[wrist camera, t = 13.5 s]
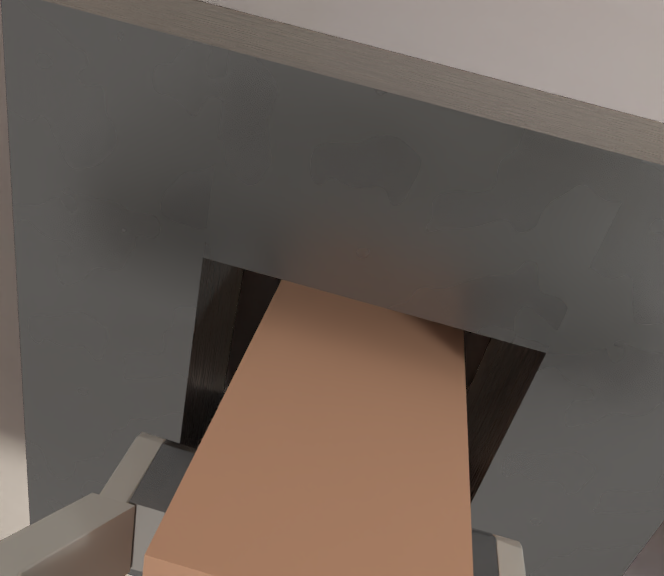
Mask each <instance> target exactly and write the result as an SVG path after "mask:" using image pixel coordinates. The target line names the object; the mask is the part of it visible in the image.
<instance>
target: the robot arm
mask: <svg viewBox="0 0 664 576" xmlns="http://www.w3.org/2000/svg"><path fill="white" fill-rule="evenodd" d="M196 451H197V449H196V448H193V447H190V446H187V445H183V444H180V443H177V442H174V441H171V440H168V439H164V438H160V437H157V436H154V435H151V434H148V433H144V432H142V433H141V434H139V435H138V436H137V437H136V438H135V440H134V441H133V443H132V444H131V446H130V448H129V449H128V451H127V452H126V454H125V455H124V457H123V458H122V460H121V462H120V463H119V465H118V466H117V468H116V469H115V471H114V473H113V474H112V476H111V477H110V479H109V480H108V482H107V483H106V485H105V487H104V488H103V490H102V491H101V493H100V494H95V493H90V494H89V495H87V496H85V497H83V498H81V499H79V500H77V501H75V502H73V503H71V504H69V505H67V506H66V507H64V508H62V509H60V510H58V511H56V512H54V513H52V514H50V515H48V516H46V517H45V518H43V519H41V520H39V521H37V522H35V523H33V524H31V525H29V526H27V527H25V528H24V529H22V530H20V531H18V532H16V533H14V534H12V535H10V536H8V537H6V538H4V539H3V540H1V541H0V576H125V575H126V574H128V573H129V572H130V569H133V570H137V571H141V572H143V565H144V555H145V553H146V551H147V549H148V547H149V545H150V543H151V541H152V539H153V537H154V535H155V533H156V531H157V529H158V527H159V525H160V523H161V521H162V519H163V517H164V515H165V513H166V511H167V509H168V507H169V505H170V503H171V501H172V499H173V497H174V495H175V493H176V491H177V489H178V487H179V485H180V483H181V481H182V479H183V477H184V475H185V473H186V471H187V469H188V467H189V465H190V463H191V461H192V459H193V457H194V455H195V453H196ZM471 529H472V554H473V576H526V573H525V565H524V557H523V550H522V546H521V544H520V542H519V541H515V540H512V539H508V538H505V537H502V536H498V535H495V534H493V535H492V534H491V533H489V532H485V531H481V530H478V529H474V528H471Z"/></svg>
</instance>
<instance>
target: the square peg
mask: <svg viewBox="0 0 664 576" xmlns="http://www.w3.org/2000/svg"><path fill="white" fill-rule="evenodd" d="M143 576H473V554H472V529H471V504H470V479H469V454H468V429H467V404H466V378H465V353H464V330H462V329H458V328H455V327H451V326H447V325H444V324H440V323H437V322H433V321H429V320H426V319H422V318H419V317H415V316H411V315H408V314H404V313H401V312H397V311H393V310H390V309H386V308H383V307H379V306H375V305H372V304H368V303H365V302H361V301H357V300H354V299H350V298H347V297H343V296H339V295H336V294H332V293H329V292H325V291H321V290H318V289H314V288H311V287H307V286H303V285H300V284H296V283H293V282H289V281H285V280H281V282H280V284H279V286H278V288H277V290H276V292H275V294H274V296H273V298H272V300H271V302H270V304H269V306H268V308H267V310H266V312H265V314H264V316H263V318H262V320H261V322H260V324H259V326H258V328H257V330H256V332H255V334H254V336H253V338H252V340H251V342H250V344H249V346H248V348H247V350H246V352H245V354H244V356H243V358H242V360H241V362H240V364H239V366H238V368H237V370H236V372H235V374H234V376H233V378H232V380H231V382H230V384H229V386H228V388H227V390H226V392H225V394H224V396H223V398H222V400H221V402H220V404H219V406H218V408H217V410H216V413H215V415H214V417H213V419H212V421H211V423H210V425H209V427H208V429H207V431H206V433H205V435H204V437H203V439H202V441H201V443H200V445H199V447H198V449H197V451H196V453H195V455H194V457H193V459H192V461H191V463H190V465H189V467H188V469H187V471H186V473H185V475H184V477H183V479H182V481H181V483H180V485H179V487H178V489H177V491H176V493H175V495H174V497H173V499H172V501H171V503H170V505H169V507H168V509H167V511H166V513H165V515H164V517H163V519H162V521H161V523H160V525H159V527H158V529H157V531H156V533H155V535H154V537H153V539H152V541H151V543H150V545H149V547H148V549H147V551H146V553H145V555H144V565H143Z"/></svg>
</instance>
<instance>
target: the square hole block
mask: <svg viewBox="0 0 664 576" xmlns="http://www.w3.org/2000/svg"><path fill="white" fill-rule="evenodd" d="M1 7H2V25H3V43H4V61H5V79H6V97H7V115H8V133H9V151H10V169H11V187H12V206H13V224H14V242H15V260H16V278H17V296H18V314H19V332H20V350H21V368H22V387H23V405H24V423H25V441H26V459H27V477H28V495H29V513H30V525H31V524H33V523H35V522H37V521H39V520H41V519H43V518H45V517H46V516H48V515H50V514H52V513H54V512H56V511H58V510H60V509H62V508H64V507H66V506H67V505H69V504H71V503H73V502H75V501H77V500H79V499H81V498H83V497H85V496H87V495H89V494H90V493H95V494H100V493H101V491H102V490H103V488H104V487H105V485H106V483H107V482H108V480H109V479H110V477H111V476H112V474H113V473H114V471H115V469H116V468H117V466H118V465H119V463H120V462H121V460H122V458H123V457H124V455H125V454H126V452H127V451H128V449H129V448H130V446H131V444H132V443H133V441H134V440H135V438H136V437H137V436H138V435H139V434H141V433H142V432H144V433H148V434H151V435H154V436H157V437H160V438H164V439H168V440H171V441H174V442H177V443H180V444H183V445H187V446H190V447H193V448H196V449H198V447H199V445H200V443H201V441H202V439H203V437H204V435H205V433H206V431H207V429H208V427H209V425H210V423H211V421H212V419H213V417H214V415H215V413H216V410H217V408H218V406H219V404H220V402H221V400H222V398H223V396H224V394H223V390H224V384H225V378H226V372H227V366H228V360H229V354H230V348H231V342H232V336H233V330H234V324H235V318H236V312H237V306H238V300H239V294H240V288H241V282H242V276H243V270H244V269H246V270H249V271H253V272H257V273H260V274H264V275H267V276H271V277H275V278H278V279H282V280H285V281H289V282H293V283H296V284H300V285H303V286H307V287H311V288H314V289H318V290H321V291H325V292H329V293H332V294H336V295H339V296H343V297H347V298H350V299H354V300H357V301H361V302H365V303H368V304H372V305H375V306H379V307H383V308H386V309H390V310H393V311H397V312H401V313H404V314H408V315H411V316H415V317H419V318H422V319H426V320H429V321H433V322H437V323H440V324H444V325H447V326H451V327H455V328H458V329H462V330H465V331H469V332H473V333H476V334H480V335H483V336H487V337H491V340H490V342H489V344H488V346H487V349H486V351H485V353H484V356H483V358H482V360H481V363H480V365H479V367H478V369H477V372H476V374H475V376H474V379H473V381H472V383H471V385H470V388H469V390H468V392H467V395H466V404H467V429H468V454H469V479H470V504H471V528H474V529H478V530H481V531H485V532H489V533H491V534H492V535H493V534H495V535H498V536H502V537H505V538H508V539H512V540H515V541H519V542H520V544H521V546H522V550H523V557H524V565H525V573H526V576H622V575H623V574H624V572H625V571H626V570H627V569H628V567H629V566H630V565H631V563H632V562H633V561H634V559H635V558H636V557H637V555H638V554H639V553H640V551H641V550H642V549H643V547H644V546H645V545H646V544H647V542H648V541H649V540H650V538H651V537H652V536H653V534H654V533H655V532H656V530H657V529H658V528H659V526H660V525H661V524H662V522H663V521H664V123H661V122H657V121H654V120H650V119H646V118H642V117H638V116H635V115H631V114H627V113H623V112H620V111H616V110H612V109H608V108H604V107H601V106H597V105H593V104H589V103H585V102H582V101H578V100H574V99H570V98H566V97H563V96H559V95H555V94H551V93H547V92H544V91H540V90H536V89H532V88H528V87H525V86H521V85H517V84H513V83H509V82H506V81H502V80H498V79H494V78H490V77H487V76H483V75H479V74H475V73H471V72H468V71H464V70H460V69H456V68H452V67H449V66H445V65H441V64H437V63H433V62H430V61H426V60H422V59H418V58H414V57H411V56H407V55H403V54H399V53H395V52H392V51H388V50H384V49H380V48H376V47H373V46H369V45H365V44H361V43H357V42H354V41H350V40H346V39H342V38H338V37H335V36H331V35H327V34H323V33H320V32H316V31H312V30H308V29H304V28H301V27H297V26H293V25H289V24H285V23H282V22H278V21H274V20H270V19H266V18H263V17H259V16H255V15H251V14H247V13H244V12H240V11H236V10H232V9H228V8H225V7H221V6H217V5H213V4H209V3H206V2H202V1H198V0H1ZM128 574H129V575H133V576H143V572H141V571H137V570H133V569H130V572H129V573H128Z"/></svg>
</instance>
